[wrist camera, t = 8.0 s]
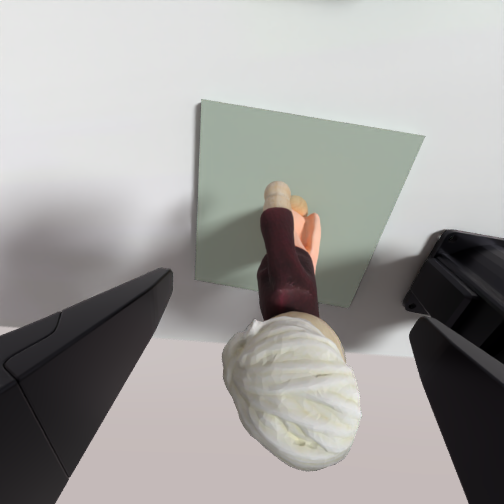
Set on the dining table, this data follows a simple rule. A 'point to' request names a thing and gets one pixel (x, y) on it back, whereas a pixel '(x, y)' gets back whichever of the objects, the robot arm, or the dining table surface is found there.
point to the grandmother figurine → (292, 349)
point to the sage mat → (295, 191)
